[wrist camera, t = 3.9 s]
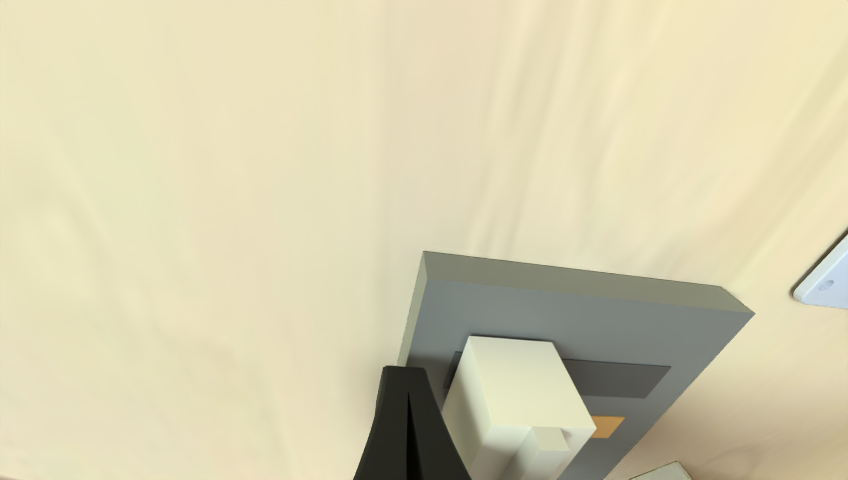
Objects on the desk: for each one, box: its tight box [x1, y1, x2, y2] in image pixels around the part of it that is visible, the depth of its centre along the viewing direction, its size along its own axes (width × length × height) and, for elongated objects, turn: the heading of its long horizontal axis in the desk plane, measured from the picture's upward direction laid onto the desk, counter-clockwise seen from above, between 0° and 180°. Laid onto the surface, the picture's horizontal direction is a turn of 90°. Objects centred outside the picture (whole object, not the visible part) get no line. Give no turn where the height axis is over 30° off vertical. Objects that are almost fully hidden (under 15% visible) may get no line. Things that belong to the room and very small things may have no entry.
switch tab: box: [443, 336, 597, 480], centre depth 11 cm, size 4×3×4 cm
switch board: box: [397, 251, 756, 480], centre depth 16 cm, size 19×12×2 cm, turn 169°
